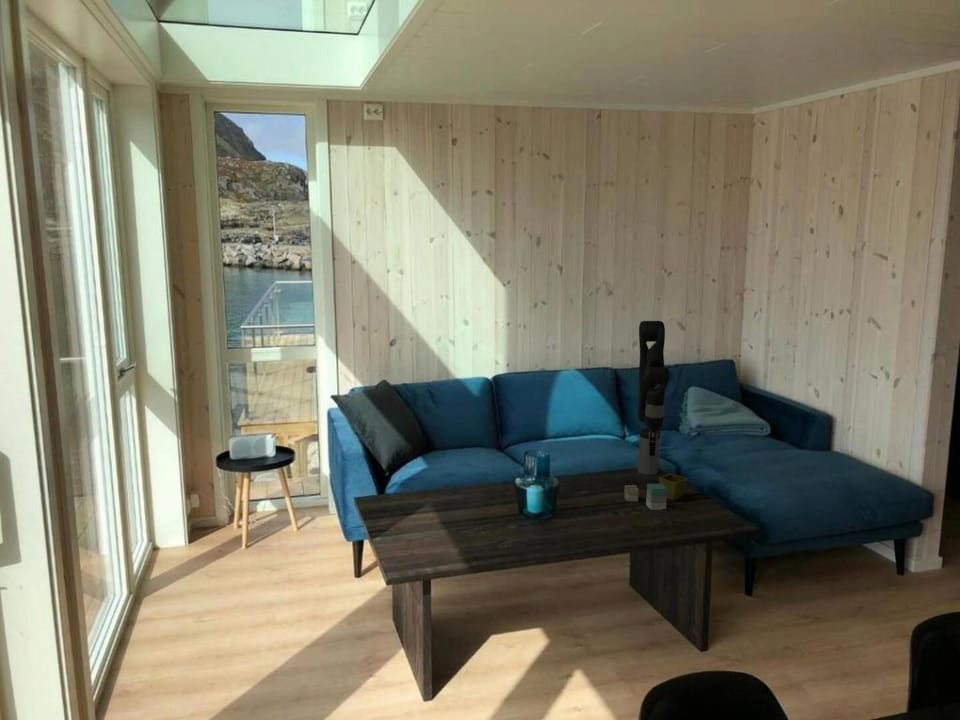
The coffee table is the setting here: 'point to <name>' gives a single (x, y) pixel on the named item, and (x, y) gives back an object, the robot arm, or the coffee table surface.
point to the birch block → (631, 493)
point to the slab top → (656, 489)
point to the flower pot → (674, 485)
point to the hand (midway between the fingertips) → (652, 452)
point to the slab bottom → (655, 505)
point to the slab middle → (656, 498)
